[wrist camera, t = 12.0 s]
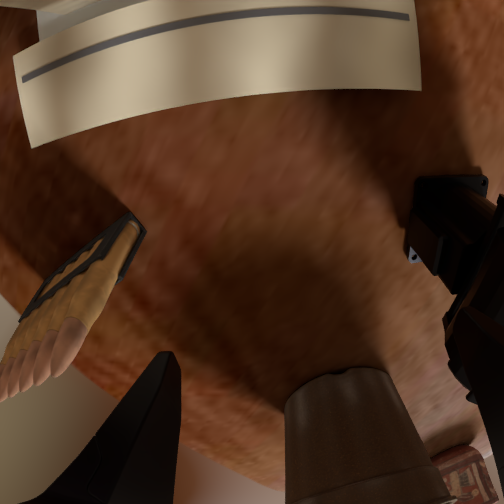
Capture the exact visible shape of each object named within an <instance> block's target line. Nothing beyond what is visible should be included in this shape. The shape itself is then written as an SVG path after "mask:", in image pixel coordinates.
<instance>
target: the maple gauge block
mask: <svg viewBox="0 0 504 504" xmlns="http://www.w3.org/2000/svg"><path fill="white" fill-rule="evenodd" d="M98 1H101V0H0V6H5V7H15V8H24V9H31V10H38V11H44V12H50V13H56V14H62V15H67V14H69V13H71V12H74V11H76V10H78V9H81V8H83V7H86V6H88V5H91V4H93V3H96V2H98Z"/></svg>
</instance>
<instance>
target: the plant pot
mask: <svg viewBox="0 0 504 504" xmlns="http://www.w3.org/2000/svg"><path fill="white" fill-rule="evenodd" d="M284 419H285V504H453V503H455V502H456V501H457V497H456V496H455V495H452V496H451V495H450V492H449V490H448V488H447V486H446V484H445V482H444V480H443V478H442V475H441V473H440V471H439V469H438V468H437V467H434V466H433V464H432V462H431V460H430V458H429V455H428V453H427V451H426V449H425V447H424V445H423V442H422V440H421V438H420V436H419V434H418V432H417V430H416V428H415V426H414V424H413V422H412V420H411V418H410V416H409V414H408V411H407V409H406V407H405V405H404V403H403V401H402V399H401V397H400V395H399V393H398V391H397V389H396V387H395V385H394V383H393V381H392V379H391V377H390V376H389V375H388V374H387V373H385V372H383V371H381V370H378V369H374V368H364V367H361V368H350V369H348V370H347V371H346V372H345V373H343V374H338V375H332V374H325V375H323V376H320V377H318V378H316V379H314V380H312V381H310V382H308V383H306V384H305V385H303V386H302V387H300V388H299V389H298V390H297V391H295V392H294V393H293V394H292V395H291V396H290V397H289V399H288V400H287V402H286V404H285V407H284Z"/></svg>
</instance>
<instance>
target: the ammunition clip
mask: <svg viewBox="0 0 504 504" xmlns="http://www.w3.org/2000/svg"><path fill="white" fill-rule="evenodd" d="M146 233H147V231H146V230H145V229H144V228H143V226H142V225H141V224H140V223H139V222H138V221H137V219H136V218H135V217H134V216H133V214H132V213H131V212H127V213H126V214H125V215H123V216H122V217H121V218H120V219H118V220H117V221H116V222H114V223H113V224H112V225H110V226H109V227H108V228H107V229H105V230H104V231H103V232H101V233H100V234H99V235H98V236H96V237H95V238H94V239H93V240H91V241H90V242H89V243H88V244H87V245H85V246H84V247H83V248H82V249H80V250H79V251H78V252H77V253H76V254H74V255H73V256H72V257H71V258H70V259H69V260H67V261H66V262H65V263H64V264H63V265H61V266H60V267H59V268H58V269H57V270H56V271H55V272H53V273H52V274H51V275H50V276H49V277H48V278H47V279H45V281H44V282H43V284H42V285H41V286H40V288H39V289H38V291H37V292H36V294H35V295H34V297H33V298H32V300H31V302H30V303H29V305H28V306H27V308H26V309H25V311H24V313H23V314H22V316H21V317H20V319H19V321H18V322H19V323H20V324H19V326H18V327H17V329H16V331H15V332H14V334H13V336H12V338H11V339H10V341H9V343H8V345H7V347H6V350H5V353H4V356H3V358H2V361H1V363H0V402H2V401H4V400H5V399H6V398H7V397H10V398H11V397H13V396H14V395H16V394H17V393H18V392H19V391H20V392H22V393H23V392H24V391H26V390H27V389H29V388H30V387H31V386H32V384H33V383H34V385H35V386H39V385H40V384H41V383H43V382H44V381H45V380H46V379H47V378H48V376H49V375H50V374H51V376H52V377H53V378H56V377H58V376H59V375H60V374H62V373H63V372H64V371H65V370H66V368H67V367H68V366H69V365H70V363H71V362H72V361H73V359H74V358H75V356H76V354H77V353H78V351H79V349H80V347H81V345H82V343H83V341H84V339H85V337H86V335H87V334H88V332H89V330H90V328H91V326H92V324H93V323H94V322H95V320H96V319H97V318H98V317H99V315H100V313H101V312H102V310H103V308H104V306H105V304H106V301H107V299H108V297H109V295H110V293H111V291H112V289H113V287H114V285H116V284H117V283H119V282H120V281H122V280H123V278H124V276H125V274H126V272H127V270H128V268H129V266H130V264H131V262H132V260H133V258H134V256H135V254H136V252H137V250H138V248H139V246H140V244H141V242H142V240H143V239H144V237H145V235H146Z"/></svg>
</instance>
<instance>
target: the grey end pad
mask: <svg viewBox="0 0 504 504" xmlns="http://www.w3.org/2000/svg"><path fill="white" fill-rule="evenodd" d="M144 1H148V0H101V1H98V2H96V3H93V4H91V5H88V6H86V7H83V8H81V9H78V10H76V11H74V12H71V13H69V14H67V15H62V14H56V13H50V12H44V11H38V10H37V22H38V32H39V40H40V41H42V40H44V39H46V38H48V37H50V36H53V35H55V34H57V33H59V32H61V31H63V30H66V29H68V28H70V27H73V26H75V25H77V24H80V23H82V22H85V21H87V20H90V19H93V18H95V17H98V16H101V15H103V14H106V13H109V12H112V11H115V10H118V9H121V8H124V7H127V6H131V5H134V4H137V3H141V2H144Z"/></svg>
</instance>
